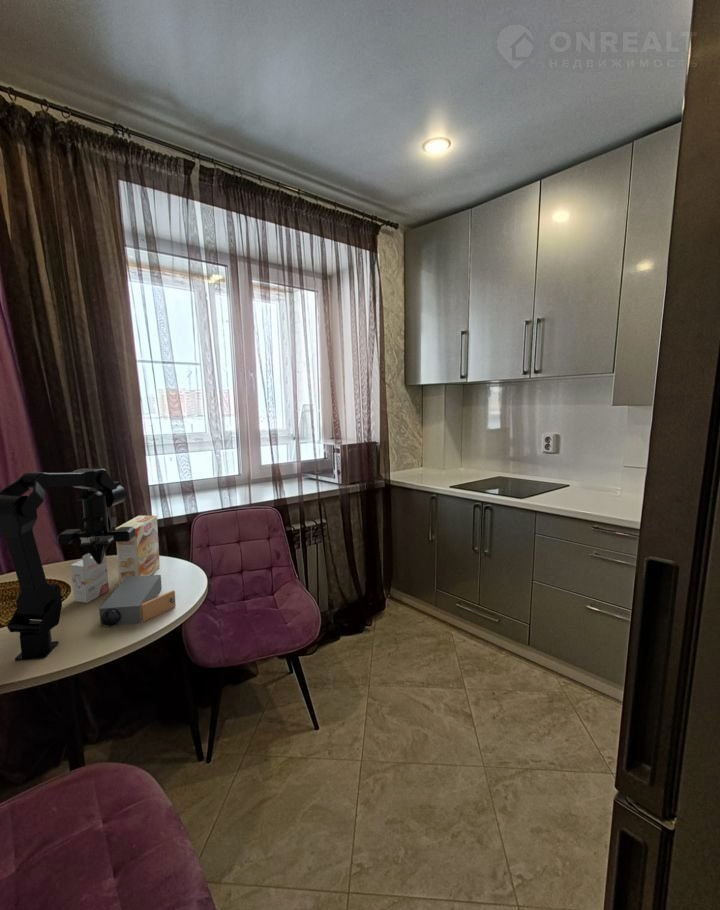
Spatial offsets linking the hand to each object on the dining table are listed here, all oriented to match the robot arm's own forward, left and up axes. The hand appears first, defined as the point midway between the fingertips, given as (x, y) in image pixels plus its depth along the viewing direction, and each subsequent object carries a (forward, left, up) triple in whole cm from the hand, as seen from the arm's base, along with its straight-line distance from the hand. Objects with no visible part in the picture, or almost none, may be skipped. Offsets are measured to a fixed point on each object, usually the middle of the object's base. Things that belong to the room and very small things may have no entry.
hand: (99, 563), depth 121 cm
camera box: (-2, -9, -13) cm, 16 cm away
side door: (-8, -18, -13) cm, 23 cm away
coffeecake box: (+20, -4, -13) cm, 24 cm away
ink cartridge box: (+7, +6, -13) cm, 16 cm away
